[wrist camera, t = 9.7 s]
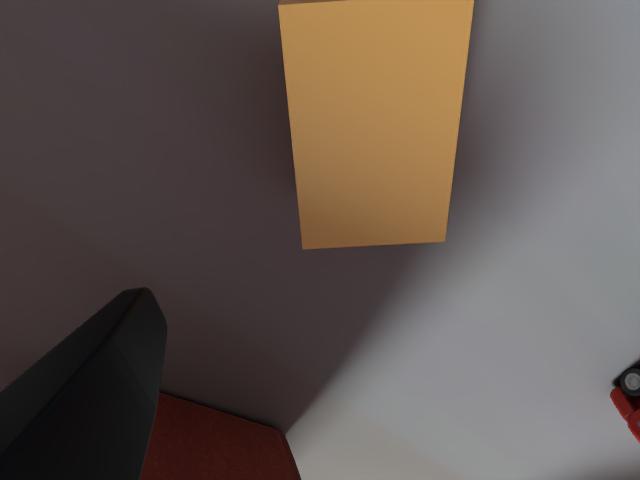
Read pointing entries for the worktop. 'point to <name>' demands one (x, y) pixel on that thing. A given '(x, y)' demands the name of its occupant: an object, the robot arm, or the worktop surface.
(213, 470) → the plant pot
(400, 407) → the worktop surface
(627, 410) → the toy fire truck
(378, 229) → the orange brick
